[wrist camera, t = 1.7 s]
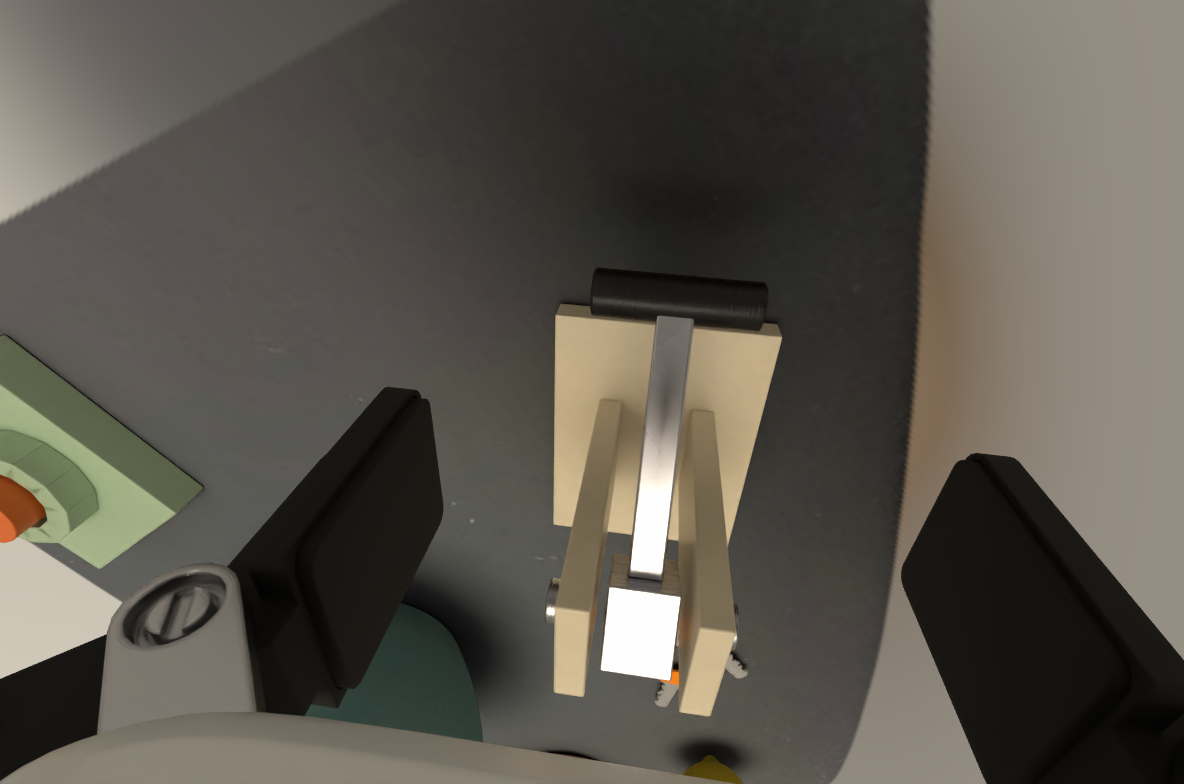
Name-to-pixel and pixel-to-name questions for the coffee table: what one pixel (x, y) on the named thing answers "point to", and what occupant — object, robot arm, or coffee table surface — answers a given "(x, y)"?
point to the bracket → (610, 475)
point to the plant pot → (413, 683)
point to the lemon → (712, 771)
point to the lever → (660, 451)
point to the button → (17, 509)
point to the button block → (81, 464)
